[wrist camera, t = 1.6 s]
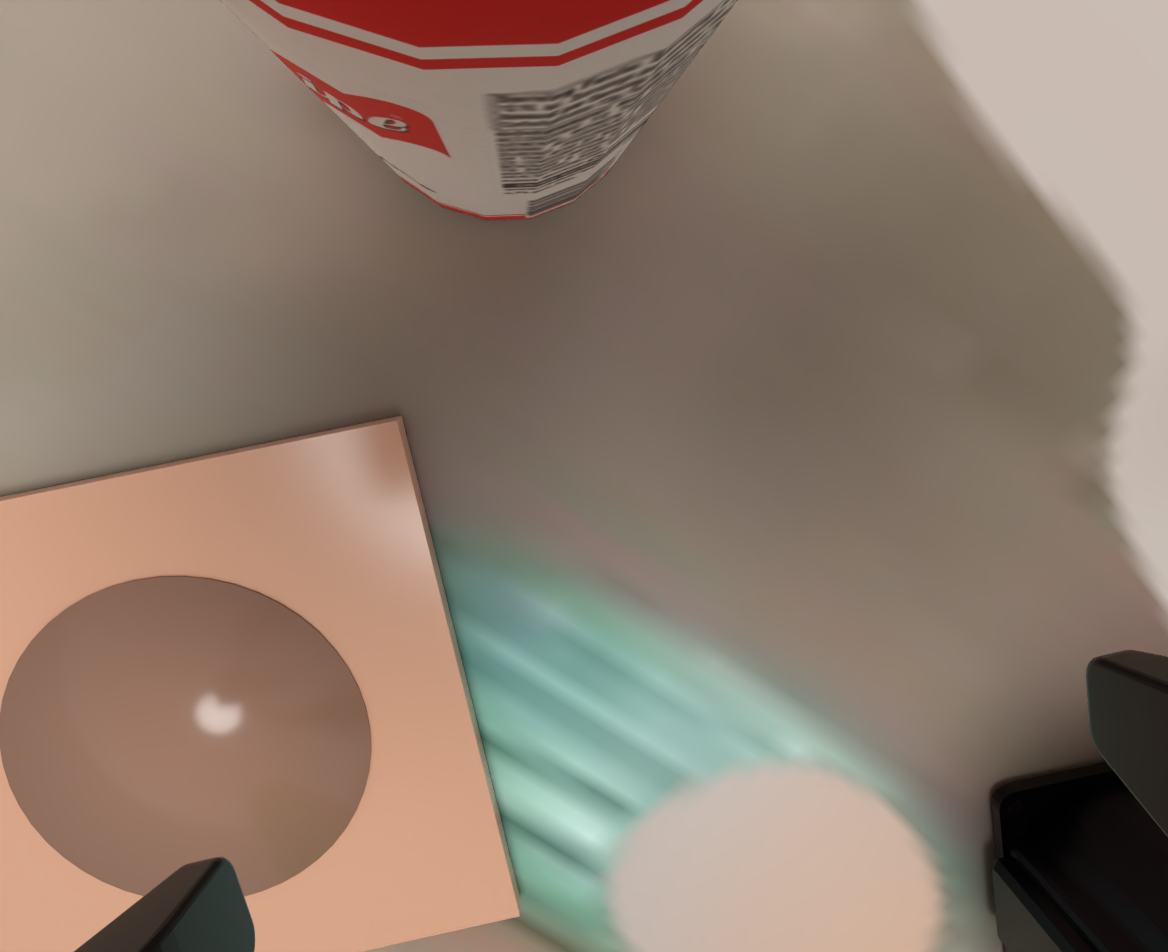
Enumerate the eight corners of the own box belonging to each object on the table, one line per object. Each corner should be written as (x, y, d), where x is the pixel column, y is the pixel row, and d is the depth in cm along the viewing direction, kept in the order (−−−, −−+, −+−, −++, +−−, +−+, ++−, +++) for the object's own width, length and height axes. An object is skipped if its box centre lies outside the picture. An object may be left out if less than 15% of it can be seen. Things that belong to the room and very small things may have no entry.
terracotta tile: (401, 415, 21) (396, 421, 20) (519, 895, 24) (519, 918, 23) (-174, 532, 20) (-206, 543, 19) (25, 1005, 23) (6, 1033, 22)
